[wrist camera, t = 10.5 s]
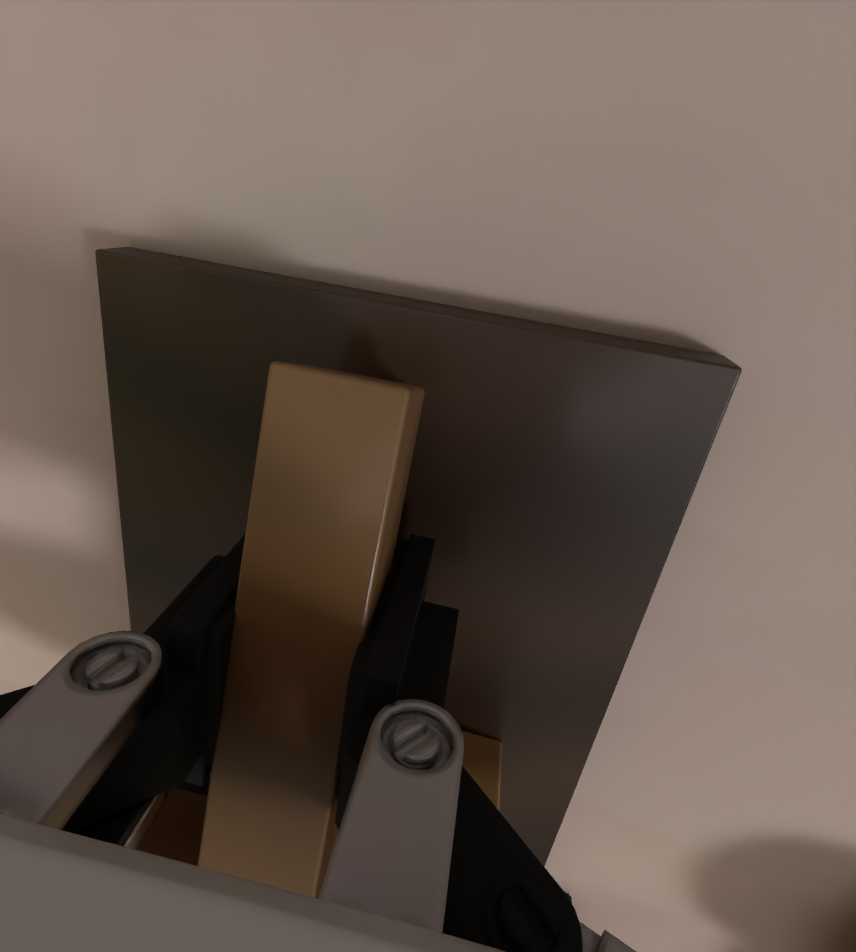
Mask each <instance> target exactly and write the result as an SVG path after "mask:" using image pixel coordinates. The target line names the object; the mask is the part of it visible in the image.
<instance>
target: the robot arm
mask: <svg viewBox="0 0 856 952" xmlns="http://www.w3.org/2000/svg"><path fill="white" fill-rule="evenodd" d="M244 540H245V534H244V536H243V537H242V538H241V539H240V540H239V541H238V542H237V544H236V545H235V546H234V547H233V548H232V549H231V550H230V552H229V553H228V554H227V555H226V556H221V555H217V556H214V557H213V558H212V559H211V560H209V562H208V563H207V564H206V565H205V566H204V567H203V568H202V569H201V570H200V572H199V573H198V574H197V575H196V576H195V577H194V578H193V579H192V580H191V581H190V583H189V584H188V585H187V586H186V587H185V588H184V589H183V590H182V591H181V593H180V594H179V595H178V596H177V597H176V598H175V599H174V600H173V601H172V602H171V604H170V605H169V606H168V607H167V608H166V609H165V610H164V611H163V612H162V613H161V615H160V616H159V617H158V618H157V619H156V620H155V621H154V622H153V623H152V625H151V626H150V627H149V628H148V629H147V630H146V631H145V632H144V633H143V634H142V633H140V632H132V631H118V632H109V633H105V634H102V635H98V636H95V637H92V638H90V639H88V640H86V641H84V642H82V643H80V644H79V645H78V646H76V647H75V648H74V649H72V650H71V651H70V652H68V653H67V654H66V655H65V656H64V657H63V658H62V659H61V660H60V661H59V662H58V663H57V664H56V665H55V666H54V667H53V668H52V669H51V670H50V671H49V672H48V673H47V674H46V675H45V676H44V677H43V678H42V679H41V680H40V681H39V682H38V683H37V684H36V685H33V686H30V687H26V688H23V689H20V690H16V691H13V692H10V693H6V694H3V695H0V952H636V951H635V950H633V949H632V948H630V947H629V946H628V945H626V944H625V943H623V942H622V941H620V940H619V939H617V938H616V937H615V936H613V935H612V934H610V933H609V932H607V931H606V930H604V932H603V934H602V936H599V935H598V934H597V933H595V932H594V931H592V930H591V929H590V928H588V927H587V926H585V925H584V924H582V923H581V922H580V921H579V920H578V917H577V914H576V912H575V909H574V907H573V905H572V904H571V902H570V901H569V899H568V897H567V896H566V894H565V893H564V891H563V890H562V889H561V887H560V886H559V885H558V884H557V882H556V881H555V880H554V879H553V877H552V876H551V875H550V874H549V872H548V871H547V870H546V869H545V867H544V866H543V865H542V864H541V863H540V861H539V860H538V859H537V858H536V856H535V855H534V854H533V853H532V851H531V850H530V849H529V848H528V846H527V845H526V844H525V843H524V841H523V840H522V839H521V838H520V836H519V835H518V834H517V833H516V831H515V830H514V829H513V828H512V826H511V825H510V824H509V823H508V822H507V820H506V819H505V818H504V817H503V815H502V814H501V813H500V812H499V810H498V809H497V808H496V807H495V805H494V804H493V803H492V802H491V800H490V799H489V798H488V797H487V795H486V794H485V793H484V792H483V790H482V789H481V788H480V787H479V785H478V784H477V783H476V782H475V780H474V779H473V778H472V777H471V776H470V774H469V773H468V772H467V771H466V769H465V768H464V767H463V766H462V760H463V752H464V741H463V734H462V731H461V729H460V727H459V724H458V723H457V722H456V720H455V719H454V718H453V717H452V716H451V714H450V713H449V712H447V711H446V710H444V703H445V697H446V690H447V684H448V678H449V671H450V665H451V659H452V653H453V646H454V640H455V634H456V627H457V621H458V614H459V609H456V608H451V607H447V606H443V605H438V604H434V603H429V602H425V601H424V600H425V595H426V590H427V584H428V579H429V574H430V569H431V564H432V559H433V554H434V549H435V544H436V539H432V538H428V537H423V536H419V535H414V534H410V537H409V540H405V539H400V538H399V540H398V542H397V545H396V548H395V550H394V555H393V560H392V566H391V570H390V572H389V575H388V578H387V580H386V583H385V586H384V588H383V591H382V594H381V596H380V599H379V602H378V604H377V607H376V609H375V612H374V615H373V617H372V620H371V623H370V625H369V628H368V631H367V633H366V636H365V639H364V640H363V641H362V642H359V645H358V648H357V650H356V653H355V656H354V659H353V662H352V666H351V670H350V674H349V678H348V684H347V692H346V699H345V707H344V714H343V721H342V729H341V736H340V744H339V751H338V758H337V762H338V763H339V777H338V785H337V792H336V798H337V799H338V802H337V809H336V816H335V824H336V826H337V828H338V829H339V832H338V835H337V838H336V842H335V845H334V848H333V852H332V855H331V858H330V861H329V865H328V868H327V871H326V874H325V878H324V881H323V884H322V888H321V891H320V894H319V897H318V898H315V897H311V896H307V895H303V894H300V893H296V892H292V891H289V890H285V889H281V888H277V887H274V886H270V885H266V884H263V883H259V882H255V881H252V880H248V879H244V878H240V877H237V876H233V875H229V874H226V873H222V872H218V871H214V870H210V869H207V868H203V867H199V866H195V865H192V864H188V863H184V862H180V861H176V860H173V859H169V858H165V857H161V856H158V855H154V854H150V853H146V852H142V851H139V850H138V848H139V846H140V845H141V843H142V841H143V840H144V838H145V836H146V835H147V833H148V831H149V830H150V828H151V826H152V825H153V823H154V821H155V819H156V818H157V816H158V814H159V813H160V811H161V809H162V808H163V806H164V804H165V801H166V799H167V796H168V792H169V790H171V789H173V788H175V787H178V786H180V785H182V784H184V782H187V783H191V784H195V785H199V786H203V785H204V783H205V781H206V779H207V777H208V776H209V774H210V772H211V769H212V762H213V755H214V748H215V742H216V735H217V734H218V731H219V725H220V718H221V711H222V704H223V697H224V690H225V683H226V677H227V670H228V663H229V656H230V649H231V642H232V636H233V629H234V622H235V615H236V613H235V612H234V610H235V603H236V596H237V589H238V582H239V575H240V568H241V561H242V554H243V547H244Z"/></svg>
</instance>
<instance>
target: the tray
mask: <svg viewBox="0 0 856 952" xmlns="http://www.w3.org/2000/svg"><path fill="white" fill-rule="evenodd" d="M95 253H96V264H97V274H98V285H99V295H100V306H101V317H102V327H103V338H104V349H105V359H106V370H107V380H108V391H109V402H110V412H111V423H112V434H113V444H114V455H115V466H116V476H117V487H118V497H119V508H120V519H121V529H122V540H123V551H124V561H125V572H126V582H127V593H128V604H129V614H130V625H131V631H132V632H140V633H142V634H143V633H144V632H145V631H146V630H147V629H148V628H149V627H150V626H151V625H152V623H153V622H154V621H155V620H156V619H157V618H158V617H159V616H160V615H161V613H162V612H163V611H164V610H165V609H166V608H167V607H168V606H169V605H170V604H171V602H172V601H173V600H174V599H175V598H176V597H177V596H178V595H179V594H180V593H181V591H182V590H183V589H184V588H185V587H186V586H187V585H188V584H189V583H190V581H191V580H192V579H193V578H194V577H195V576H196V575H197V574H198V573H199V572H200V570H201V569H202V568H203V567H204V566H205V565H206V564H207V563H208V562H209V560H211V559H212V558H213V557H214V556H217V555H221V556H226V555H227V554H228V553H229V552H230V550H231V549H232V548H233V547H234V546H235V545H236V544H237V542H238V541H239V540H240V539H241V538H242V537H243V536H244V534H245V533H246V526H247V520H248V513H249V506H250V499H251V492H252V485H253V478H254V471H255V464H256V457H257V450H258V443H259V436H260V429H261V422H262V415H263V408H264V402H265V395H266V388H267V381H268V374H269V367H270V364H271V362H274V361H279V362H288V363H296V364H304V365H313V366H319V367H324V368H329V369H334V370H339V371H344V372H349V373H354V374H359V375H364V376H369V377H374V378H379V379H384V380H389V381H394V382H399V383H404V384H409V385H414V386H419V387H422V388H423V389H424V391H425V394H424V399H423V404H422V409H421V415H420V420H419V425H418V430H417V435H416V441H415V446H414V451H413V456H412V461H411V467H410V472H409V477H408V482H407V488H406V493H405V498H404V503H403V508H402V514H401V519H400V524H399V529H398V534H397V540H396V545H397V542H398V540H399V538H400V539H405V540H409V537H410V534H414V535H419V536H423V537H428V538H432V539H436V544H435V549H434V554H433V559H432V564H431V569H430V574H429V579H428V584H427V590H426V595H425V600H424V601H425V602H429V603H434V604H438V605H443V606H447V607H451V608H456V609H459V614H458V621H457V627H456V634H455V640H454V646H453V653H452V659H451V665H450V671H449V678H448V684H447V690H446V697H445V703H444V710H446V711H447V712H449V713H450V714H451V716H452V717H453V718H454V719H455V720H456V722H457V723H458V724H459V727H460V729H461V730H462V731H466V732H470V733H473V734H477V735H481V736H485V737H488V738H492V739H496V740H499V741H501V743H502V756H501V780H500V804H499V812H500V813H501V814H502V815H503V817H504V818H505V819H506V820H507V822H508V823H509V824H510V825H511V826H512V828H513V829H514V830H515V831H516V833H517V834H518V835H519V836H520V838H521V839H522V840H523V841H524V843H525V844H526V845H527V846H528V848H529V849H530V850H531V851H532V853H533V854H534V855H535V856H536V858H537V859H538V860H539V861H540V863H541V864H542V865H543V866H545V863H546V861H547V858H548V856H549V853H550V851H551V848H552V846H553V843H554V841H555V838H556V835H557V833H558V830H559V828H560V825H561V823H562V820H563V818H564V815H565V813H566V810H567V808H568V805H569V803H570V800H571V798H572V795H573V793H574V790H575V788H576V785H577V783H578V780H579V778H580V775H581V773H582V770H583V768H584V765H585V763H586V760H587V758H588V755H589V753H590V750H591V748H592V745H593V743H594V740H595V737H596V735H597V732H598V730H599V727H600V725H601V722H602V720H603V717H604V715H605V712H606V710H607V707H608V705H609V702H610V700H611V697H612V695H613V692H614V690H615V687H616V685H617V682H618V680H619V677H620V675H621V672H622V670H623V667H624V665H625V662H626V660H627V657H628V655H629V652H630V650H631V647H632V645H633V642H634V640H635V637H636V634H637V632H638V629H639V627H640V624H641V622H642V619H643V617H644V614H645V612H646V609H647V607H648V604H649V602H650V599H651V597H652V594H653V592H654V589H655V587H656V584H657V582H658V579H659V577H660V574H661V572H662V569H663V567H664V564H665V562H666V559H667V557H668V554H669V552H670V549H671V547H672V544H673V542H674V539H675V536H676V534H677V531H678V529H679V526H680V524H681V521H682V519H683V516H684V514H685V511H686V509H687V506H688V504H689V501H690V499H691V496H692V494H693V491H694V489H695V486H696V484H697V481H698V479H699V476H700V474H701V471H702V469H703V466H704V464H705V461H706V459H707V456H708V454H709V451H710V449H711V446H712V444H713V441H714V438H715V436H716V433H717V431H718V428H719V426H720V423H721V421H722V418H723V416H724V413H725V411H726V408H727V406H728V403H729V401H730V398H731V396H732V393H733V391H734V388H735V386H736V383H737V381H738V378H739V376H740V373H741V368H740V367H739V366H738V365H736V364H735V363H733V362H732V361H730V360H729V359H728V358H726V357H725V356H723V355H717V354H712V353H707V352H701V351H696V350H690V349H685V348H679V347H674V346H668V345H663V344H657V343H652V342H646V341H641V340H635V339H630V338H624V337H619V336H613V335H608V334H602V333H597V332H591V331H586V330H580V329H575V328H569V327H564V326H558V325H553V324H548V323H542V322H537V321H531V320H526V319H520V318H515V317H509V316H504V315H498V314H493V313H487V312H482V311H476V310H471V309H465V308H460V307H454V306H449V305H443V304H438V303H432V302H427V301H421V300H416V299H410V298H405V297H399V296H394V295H389V294H383V293H378V292H372V291H367V290H361V289H356V288H350V287H345V286H339V285H334V284H328V283H323V282H317V281H312V280H306V279H301V278H295V277H290V276H284V275H279V274H273V273H268V272H262V271H257V270H251V269H246V268H240V267H235V266H230V265H224V264H219V263H213V262H208V261H202V260H197V259H191V258H186V257H180V256H175V255H169V254H164V253H158V252H153V251H147V250H142V249H136V248H131V247H121V248H109V249H98V250H96V252H95ZM396 545H395V548H396Z"/></svg>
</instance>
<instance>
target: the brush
mask: <svg viewBox="0 0 856 952" xmlns="http://www.w3.org/2000/svg"><path fill="white" fill-rule="evenodd" d="M424 394H425V391H424V389H423V388H422V387H419V386H414V385H409V384H404V383H399V382H394V381H389V380H384V379H379V378H374V377H369V376H364V375H359V374H354V373H349V372H344V371H339V370H334V369H329V368H324V367H319V366H313V365H304V364H296V363H288V362H279V361H274V362H271V364H270V367H269V374H268V381H267V388H266V395H265V402H264V408H263V415H262V422H261V429H260V436H259V443H258V450H257V457H256V464H255V471H254V478H253V485H252V492H251V499H250V506H249V513H248V520H247V526H246V533H245V540H244V547H243V554H242V561H241V568H240V575H239V582H238V589H237V596H236V603H235V610H234V612H235V613H236V615H235V622H234V629H233V636H232V642H231V649H230V656H229V663H228V670H227V677H226V683H225V690H224V697H223V704H222V711H221V718H220V725H219V731H218V734H217V735H216V742H215V748H214V755H213V762H212V769H211V775H210V774H209V776H208V777H207V779H206V781H205V783H204V785H203V786H199V785H195V784H191V783H187V782H184V784H182V785H180V786H178V787H175V788H173V789H171V790H169V792H168V796H167V799H166V801H165V804H164V806H163V808H162V809H161V811H160V813H159V814H158V816H157V818H156V819H155V821H154V823H153V825H152V826H151V828H150V830H149V831H148V833H147V835H146V836H145V838H144V840H143V841H142V843H141V845H140V846H139V848H138V850H139V851H142V852H146V853H150V854H154V855H158V856H161V857H165V858H169V859H173V860H176V861H180V862H184V863H188V864H192V865H195V866H199V867H203V868H207V869H210V870H214V871H218V872H222V873H226V874H229V875H233V876H237V877H240V878H244V879H248V880H252V881H255V882H259V883H263V884H266V885H270V886H274V887H277V888H281V889H285V890H289V891H292V892H296V893H300V894H303V895H307V896H311V897H315V898H318V897H319V894H320V891H321V888H322V884H323V881H324V878H325V874H326V871H327V868H328V865H329V861H330V858H331V855H332V852H333V848H334V845H335V842H336V838H337V835H338V832H339V829H338V828H337V826H336V824H335V816H336V809H337V802H338V799H337V798H336V792H337V785H338V777H339V763H338V762H337V758H338V751H339V744H340V736H341V729H342V721H343V714H344V707H345V699H346V692H347V684H348V678H349V674H350V670H351V666H352V662H353V659H354V656H355V653H356V650H357V648H358V645H359V642H362V641H363V640H364V639H365V636H366V633H367V631H368V628H369V625H370V623H371V620H372V617H373V615H374V612H375V609H376V607H377V604H378V602H379V599H380V596H381V594H382V591H383V588H384V586H385V583H386V580H387V578H388V575H389V572H390V570H391V566H392V560H393V555H394V550H395V545H396V540H397V534H398V529H399V524H400V519H401V514H402V508H403V503H404V498H405V493H406V488H407V482H408V477H409V472H410V467H411V461H412V456H413V451H414V446H415V441H416V435H417V430H418V425H419V420H420V415H421V409H422V404H423V399H424Z"/></svg>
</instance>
